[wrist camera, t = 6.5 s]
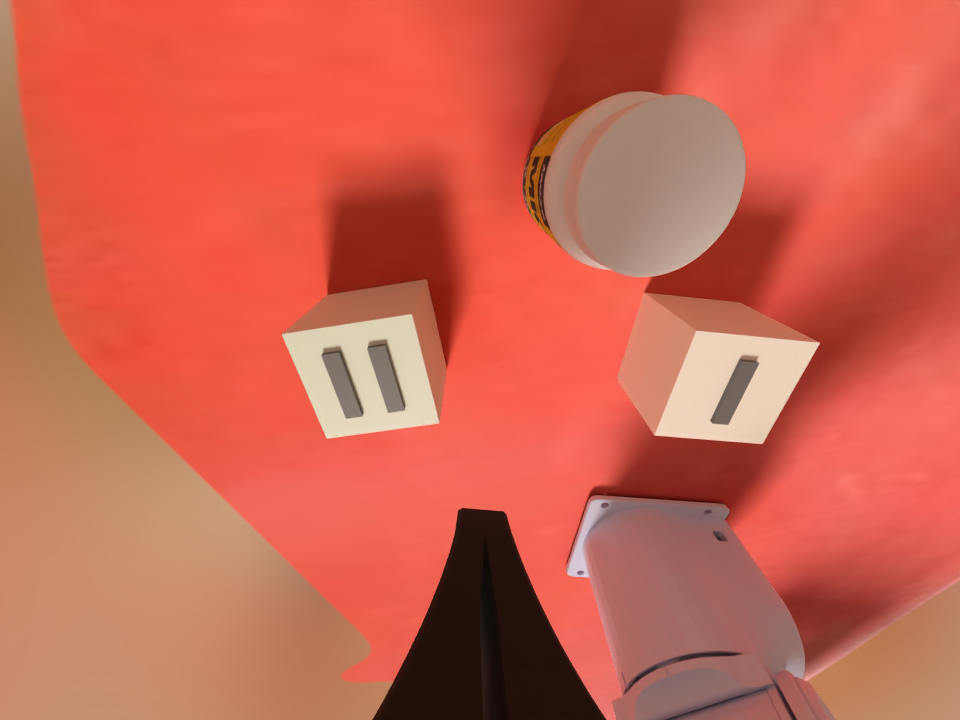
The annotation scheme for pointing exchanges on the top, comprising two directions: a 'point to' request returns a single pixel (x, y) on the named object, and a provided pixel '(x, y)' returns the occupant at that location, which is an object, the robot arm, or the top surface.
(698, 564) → the robot arm
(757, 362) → the numbered block one
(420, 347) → the numbered block two
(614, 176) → the supplement bottle
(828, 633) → the top surface
